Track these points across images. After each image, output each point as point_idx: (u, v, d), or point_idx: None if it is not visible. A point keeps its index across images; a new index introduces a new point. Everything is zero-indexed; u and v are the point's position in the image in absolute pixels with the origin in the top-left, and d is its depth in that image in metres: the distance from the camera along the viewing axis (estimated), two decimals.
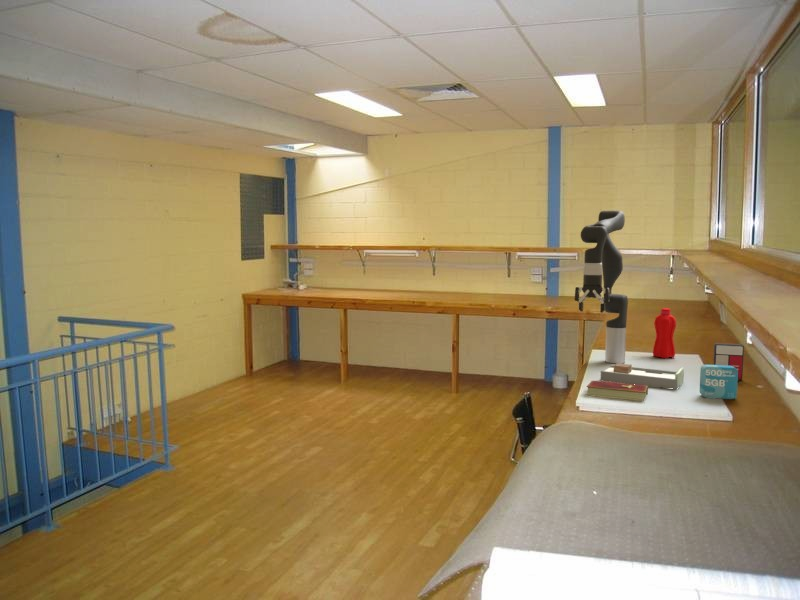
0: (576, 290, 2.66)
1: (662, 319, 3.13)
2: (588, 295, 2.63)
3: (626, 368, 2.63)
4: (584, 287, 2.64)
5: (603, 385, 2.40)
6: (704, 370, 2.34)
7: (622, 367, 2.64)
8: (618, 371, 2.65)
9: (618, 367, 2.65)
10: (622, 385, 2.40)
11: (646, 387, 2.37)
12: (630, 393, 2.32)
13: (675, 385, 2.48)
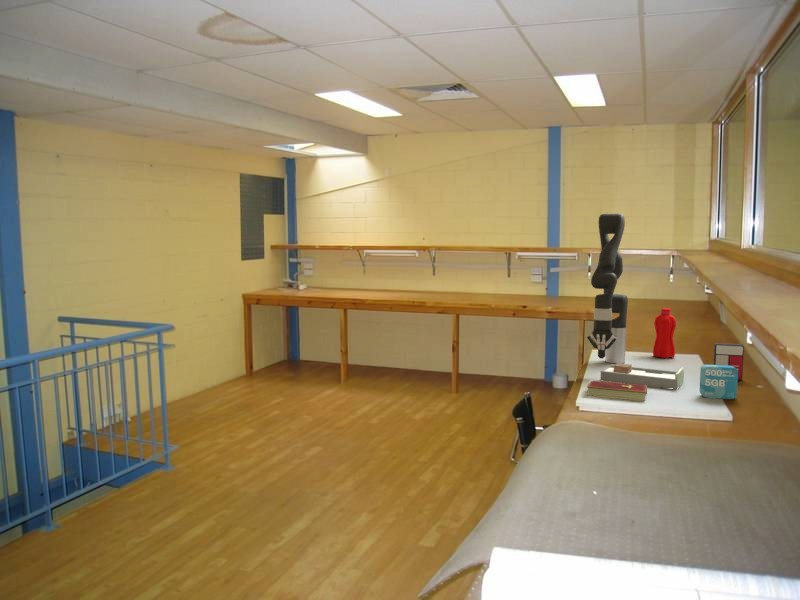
0: (589, 339, 2.72)
1: (662, 319, 3.13)
2: (601, 338, 2.69)
3: (626, 368, 2.63)
4: (593, 332, 2.71)
5: (603, 385, 2.39)
6: (704, 370, 2.34)
7: (622, 367, 2.64)
8: (618, 371, 2.65)
9: (618, 367, 2.65)
10: (622, 385, 2.40)
11: (646, 387, 2.37)
12: (631, 393, 2.32)
13: (675, 385, 2.48)
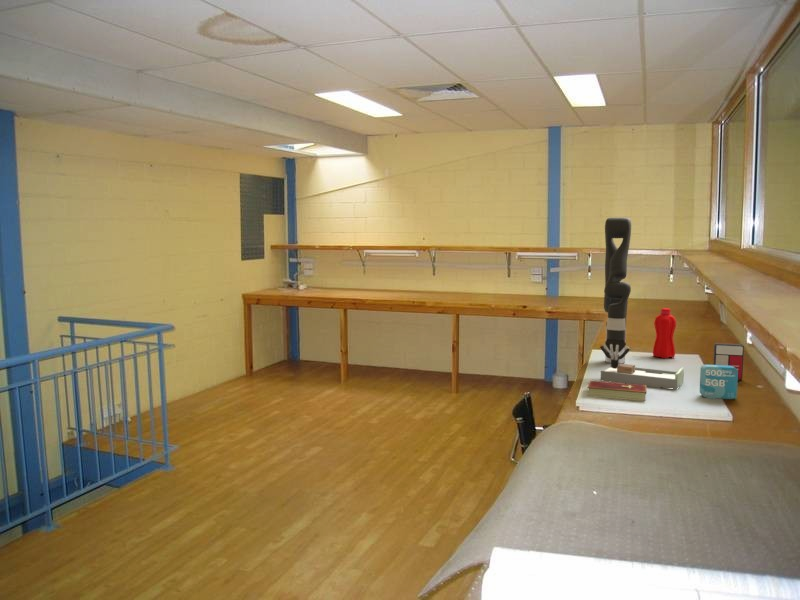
0: (602, 349, 2.70)
1: (662, 319, 3.13)
2: (614, 348, 2.67)
3: (629, 368, 2.62)
4: (606, 341, 2.68)
5: (603, 385, 2.39)
6: (704, 370, 2.34)
7: (625, 367, 2.63)
8: (621, 371, 2.64)
9: (621, 367, 2.64)
10: (621, 385, 2.40)
11: (645, 387, 2.37)
12: (631, 393, 2.32)
13: (675, 385, 2.48)
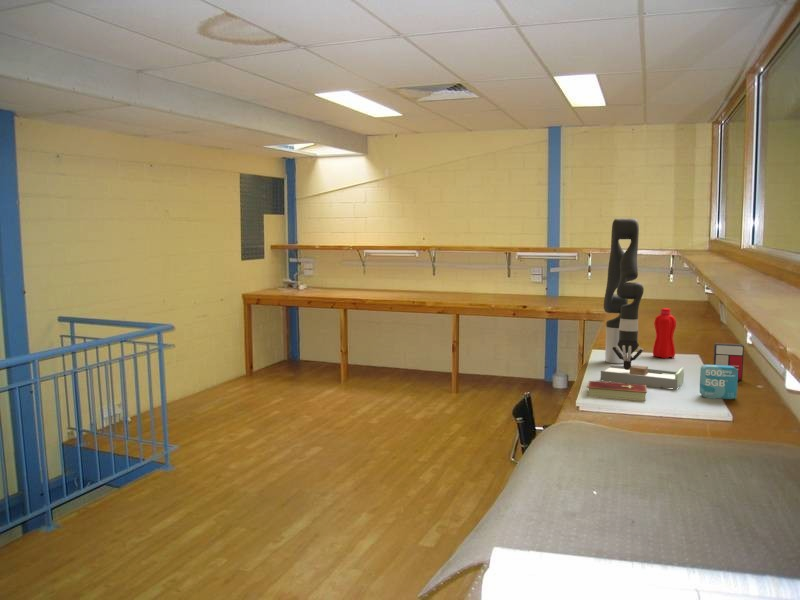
0: (614, 350, 2.67)
1: (662, 319, 3.13)
2: (627, 349, 2.64)
3: (642, 370, 2.59)
4: (618, 342, 2.66)
5: (603, 386, 2.39)
6: (704, 370, 2.34)
7: (638, 369, 2.60)
8: (634, 373, 2.61)
9: (634, 369, 2.61)
10: (621, 385, 2.40)
11: (645, 387, 2.37)
12: (631, 393, 2.32)
13: (675, 385, 2.48)
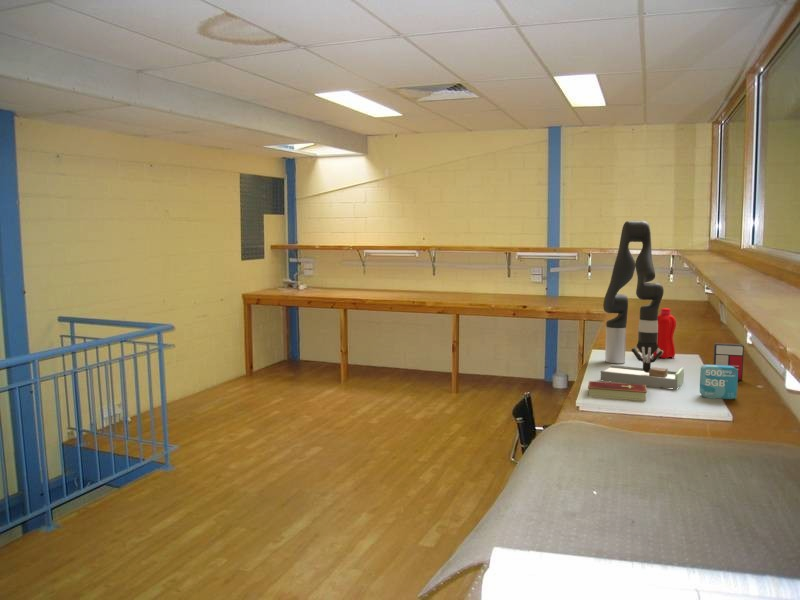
0: (633, 351, 2.62)
1: (662, 319, 3.13)
2: (646, 351, 2.60)
3: (662, 372, 2.55)
4: (638, 344, 2.61)
5: (603, 386, 2.39)
6: (704, 370, 2.34)
7: (658, 371, 2.56)
8: (654, 375, 2.57)
9: (654, 371, 2.57)
10: (621, 385, 2.40)
11: (645, 387, 2.37)
12: (632, 393, 2.32)
13: (675, 385, 2.48)
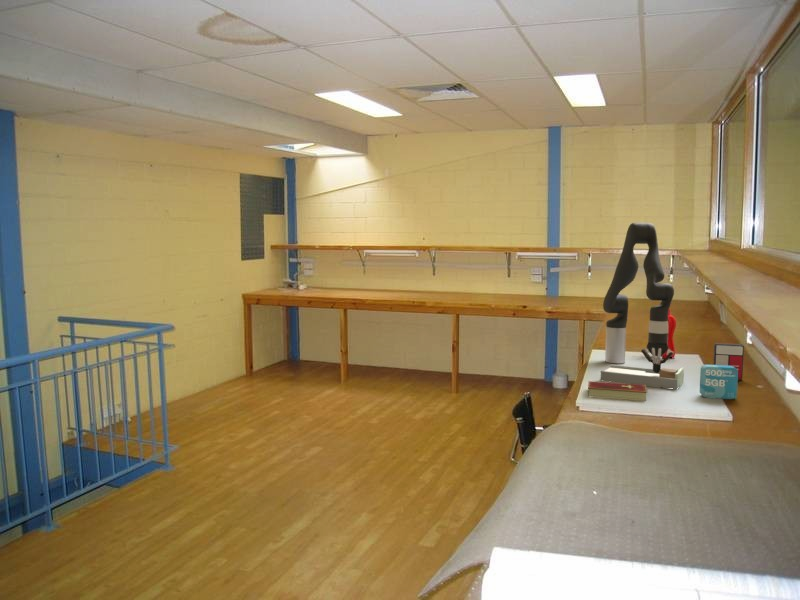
0: (643, 352, 2.60)
1: None
2: (657, 352, 2.58)
3: (673, 373, 2.53)
4: (648, 345, 2.59)
5: (603, 386, 2.38)
6: (704, 370, 2.34)
7: (668, 372, 2.54)
8: (664, 376, 2.55)
9: (664, 372, 2.55)
10: (621, 385, 2.39)
11: (645, 386, 2.37)
12: (632, 393, 2.32)
13: (675, 385, 2.48)
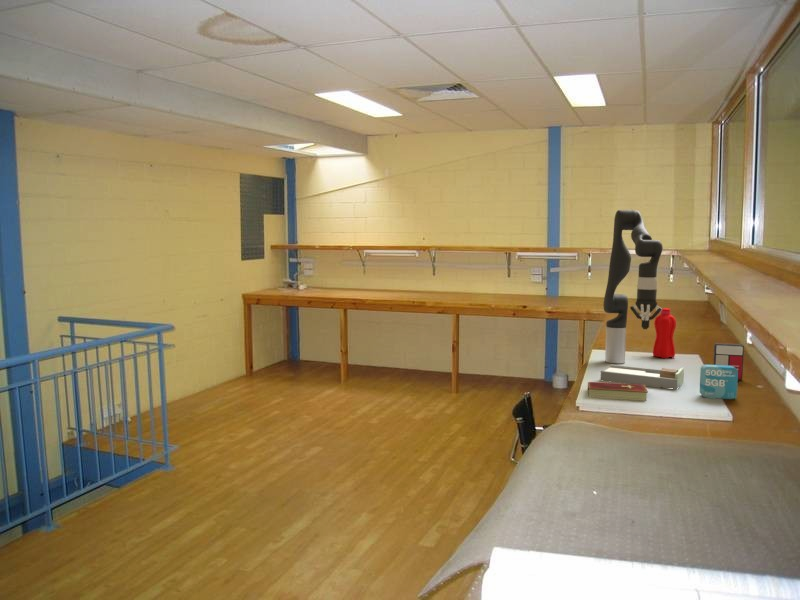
0: (632, 309, 2.62)
1: (662, 319, 3.13)
2: (645, 308, 2.59)
3: (673, 373, 2.53)
4: (637, 302, 2.61)
5: (603, 386, 2.38)
6: (704, 370, 2.34)
7: (669, 372, 2.54)
8: (665, 376, 2.55)
9: (665, 372, 2.55)
10: (621, 385, 2.39)
11: (644, 386, 2.38)
12: (632, 393, 2.32)
13: (675, 385, 2.48)
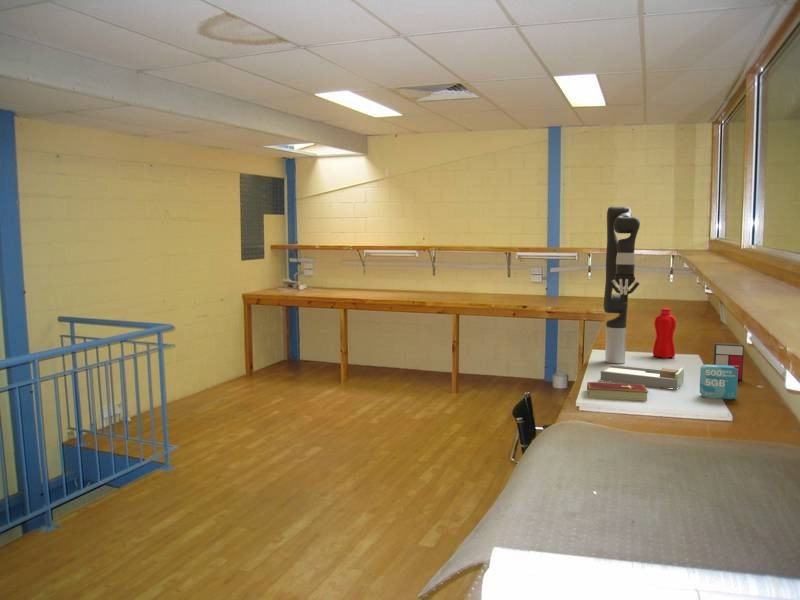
0: (611, 284, 2.72)
1: (662, 319, 3.13)
2: (624, 283, 2.69)
3: (673, 373, 2.53)
4: (615, 277, 2.71)
5: (603, 386, 2.38)
6: (704, 370, 2.34)
7: (669, 372, 2.54)
8: (665, 376, 2.55)
9: (665, 372, 2.55)
10: (620, 385, 2.39)
11: (644, 386, 2.38)
12: (633, 393, 2.32)
13: (675, 385, 2.48)
